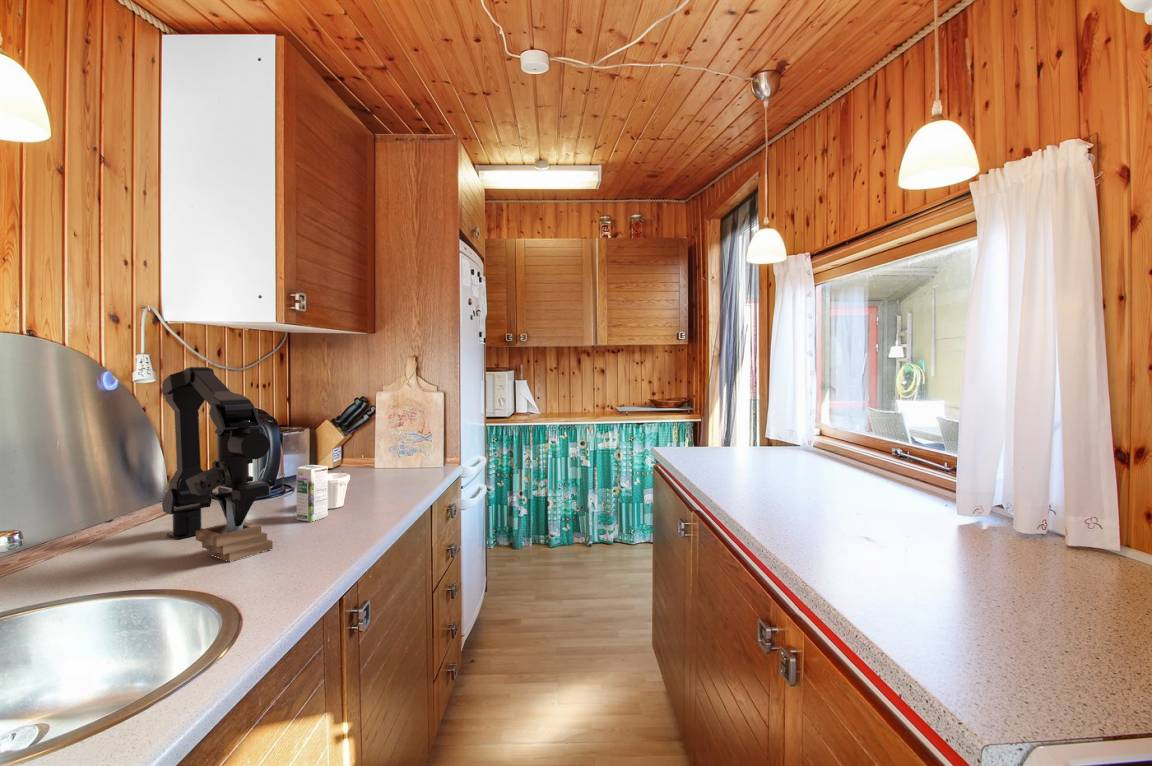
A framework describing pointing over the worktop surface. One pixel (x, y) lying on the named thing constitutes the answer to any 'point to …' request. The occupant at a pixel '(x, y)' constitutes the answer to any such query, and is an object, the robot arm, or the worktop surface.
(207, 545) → the leaning socket
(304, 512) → the syrup box
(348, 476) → the cup
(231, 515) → the gray dowel
